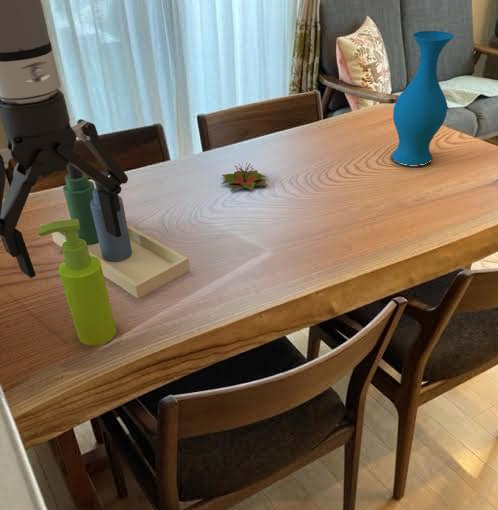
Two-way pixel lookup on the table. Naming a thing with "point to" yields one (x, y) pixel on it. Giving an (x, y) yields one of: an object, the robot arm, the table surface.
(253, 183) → the lily flower
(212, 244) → the table surface
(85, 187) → the green bottle
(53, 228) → the soap dispenser
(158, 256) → the tray
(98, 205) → the smoky-blue bottle
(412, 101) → the vase
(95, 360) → the table surface
